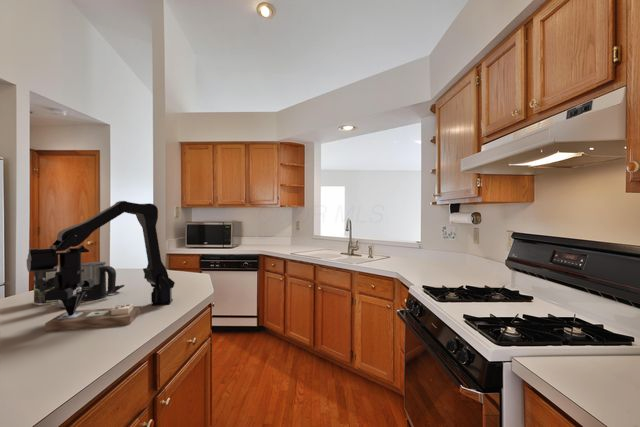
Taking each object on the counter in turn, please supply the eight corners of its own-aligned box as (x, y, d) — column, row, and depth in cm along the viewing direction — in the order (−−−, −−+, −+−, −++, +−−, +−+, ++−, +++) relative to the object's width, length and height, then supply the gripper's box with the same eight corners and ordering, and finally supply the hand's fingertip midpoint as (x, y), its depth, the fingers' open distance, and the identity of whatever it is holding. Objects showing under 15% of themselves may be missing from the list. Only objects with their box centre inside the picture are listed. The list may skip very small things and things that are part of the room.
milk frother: (75, 301, 129) (75, 265, 129) (92, 292, 144) (92, 260, 144) (115, 299, 133) (114, 263, 133) (127, 290, 148) (127, 258, 148)
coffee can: (29, 306, 122) (28, 270, 122) (39, 300, 132) (39, 266, 132) (62, 303, 127) (62, 268, 127) (69, 297, 136) (69, 264, 136)
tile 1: (108, 316, 108) (108, 310, 108) (102, 321, 103) (102, 314, 103) (91, 317, 106) (91, 311, 106) (84, 322, 101) (84, 316, 101)
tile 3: (133, 310, 109) (133, 303, 109) (128, 314, 105) (128, 307, 105) (116, 311, 108) (116, 304, 108) (111, 315, 103) (111, 309, 103)
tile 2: (83, 318, 106) (83, 311, 106) (75, 323, 101) (75, 316, 101) (65, 319, 104) (65, 313, 104) (57, 324, 100) (57, 317, 100)
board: (141, 312, 113) (141, 305, 113) (130, 324, 102) (130, 316, 102) (65, 318, 107) (65, 311, 107) (45, 331, 96) (45, 323, 96)
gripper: (57, 264, 110) (57, 309, 110) (21, 273, 92) (22, 327, 92) (94, 262, 113) (94, 306, 112) (66, 271, 94) (67, 324, 94)
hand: (70, 315), depth 103 cm, fingers closed, pressing on tile 2
